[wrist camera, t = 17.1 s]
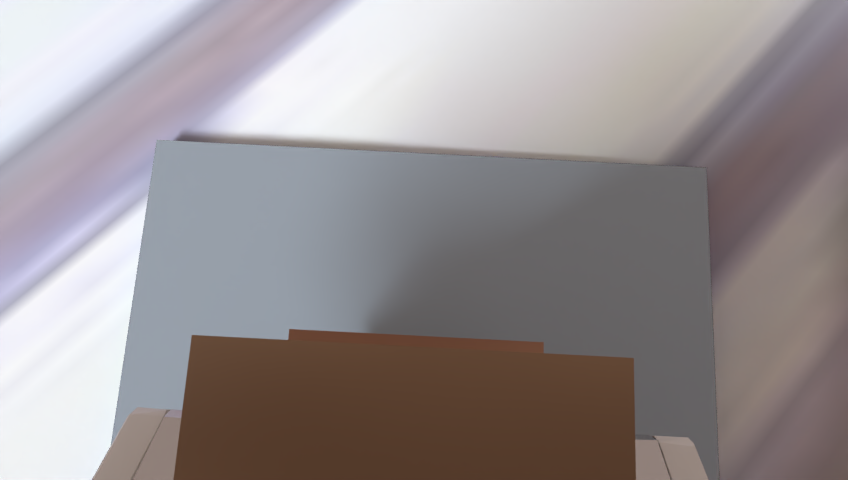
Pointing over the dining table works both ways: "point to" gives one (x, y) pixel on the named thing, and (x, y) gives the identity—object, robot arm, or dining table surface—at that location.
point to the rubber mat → (429, 263)
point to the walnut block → (402, 410)
